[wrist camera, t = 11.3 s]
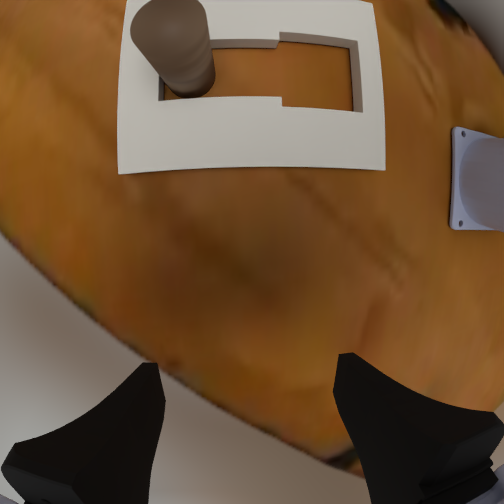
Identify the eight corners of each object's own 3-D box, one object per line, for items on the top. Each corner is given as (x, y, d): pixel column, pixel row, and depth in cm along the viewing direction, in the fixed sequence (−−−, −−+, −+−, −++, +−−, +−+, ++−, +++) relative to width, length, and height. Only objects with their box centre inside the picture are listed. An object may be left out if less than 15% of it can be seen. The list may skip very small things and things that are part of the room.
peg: (215, 54, 16) (207, -10, 9) (215, 97, 17) (206, 51, 9) (167, 57, 16) (133, -1, 8) (166, 100, 17) (127, 60, 9)
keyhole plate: (364, 11, 16) (372, 3, 14) (374, 169, 19) (385, 170, 18) (133, 8, 15) (127, -1, 13) (126, 173, 18) (118, 174, 16)
